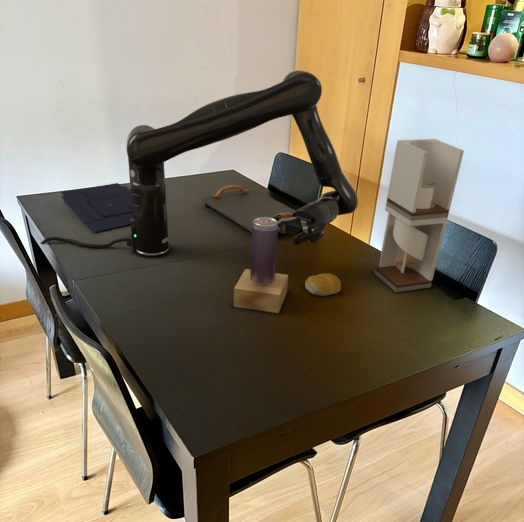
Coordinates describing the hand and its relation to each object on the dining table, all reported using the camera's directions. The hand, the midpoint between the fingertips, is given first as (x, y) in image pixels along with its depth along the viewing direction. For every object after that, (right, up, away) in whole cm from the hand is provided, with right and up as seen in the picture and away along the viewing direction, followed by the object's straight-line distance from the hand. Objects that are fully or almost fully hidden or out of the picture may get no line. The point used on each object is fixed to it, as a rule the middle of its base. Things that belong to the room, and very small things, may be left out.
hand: (279, 236), depth 132 cm
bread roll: (+11, -12, +9) cm, 19 cm away
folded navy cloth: (-55, +18, +48) cm, 75 cm away
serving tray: (-7, +17, +50) cm, 53 cm away
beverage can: (-4, -11, 0) cm, 12 cm away
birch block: (-5, -15, +2) cm, 16 cm away
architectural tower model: (+33, -9, +15) cm, 38 cm away
